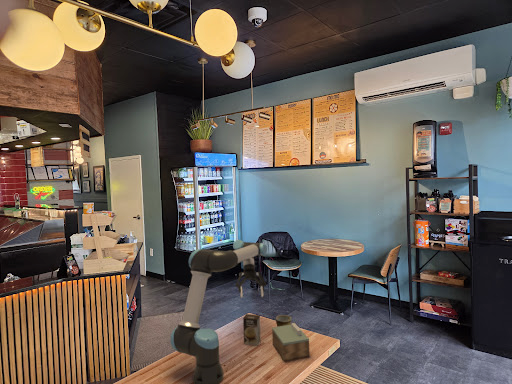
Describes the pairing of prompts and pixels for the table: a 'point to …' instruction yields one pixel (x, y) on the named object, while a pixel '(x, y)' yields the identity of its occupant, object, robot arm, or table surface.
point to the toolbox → (291, 349)
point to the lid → (290, 334)
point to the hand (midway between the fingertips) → (252, 296)
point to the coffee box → (251, 329)
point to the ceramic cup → (283, 320)
